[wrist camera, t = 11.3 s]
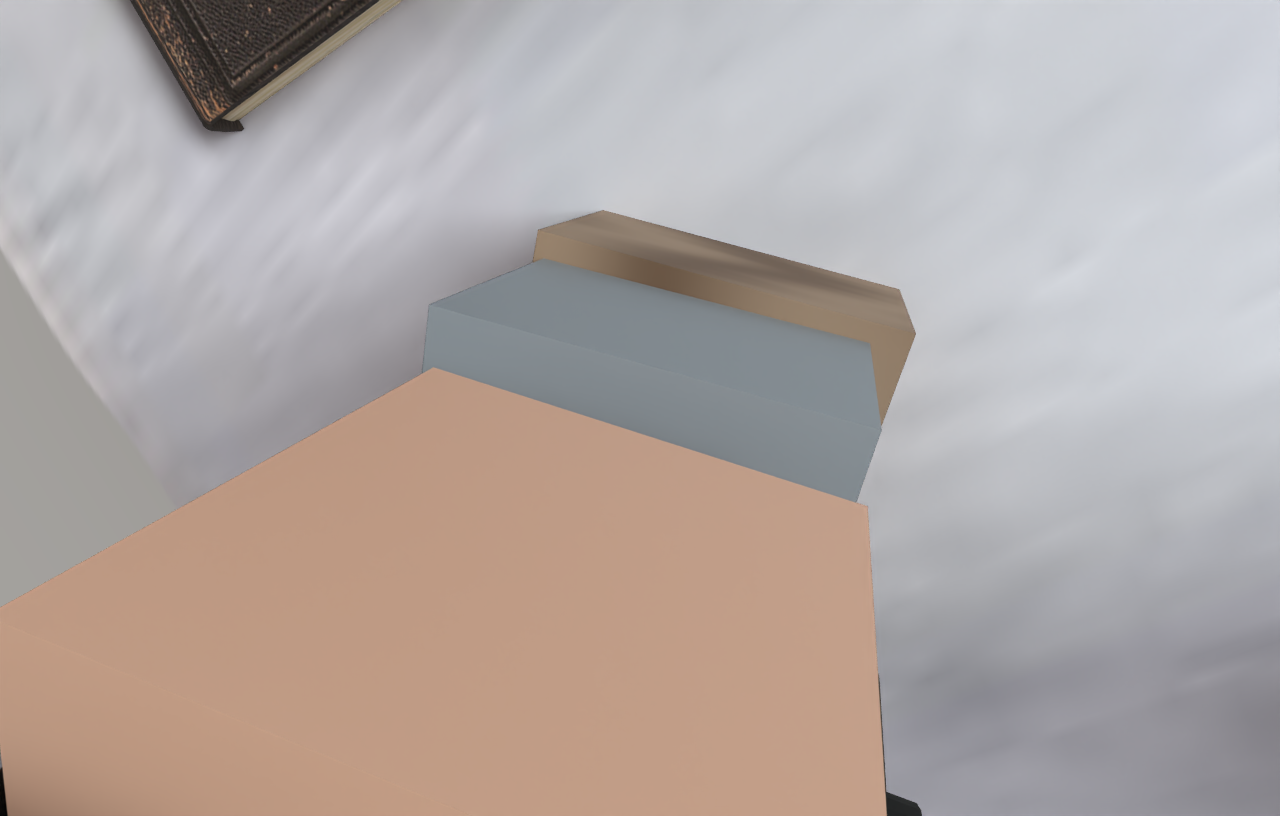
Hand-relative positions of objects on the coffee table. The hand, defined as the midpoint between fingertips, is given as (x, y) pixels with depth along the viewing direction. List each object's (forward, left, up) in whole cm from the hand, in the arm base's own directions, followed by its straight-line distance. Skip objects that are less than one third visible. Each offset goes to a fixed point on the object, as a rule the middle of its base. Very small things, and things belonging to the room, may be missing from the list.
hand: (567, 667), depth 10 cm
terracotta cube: (0, 0, -1) cm, 1 cm away
